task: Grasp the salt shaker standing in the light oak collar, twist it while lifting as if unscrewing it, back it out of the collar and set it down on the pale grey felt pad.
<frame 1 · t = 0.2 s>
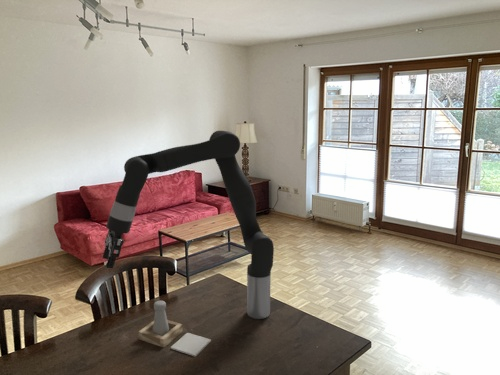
hand: (107, 262, 131), 31 cm above the table, tool tilted 20°, fingers open, 8 cm apart
oak collar: (161, 335, 143), on the table
felt pad: (191, 344, 138), on the table
salt shaker: (161, 335, 144), resting in oak collar
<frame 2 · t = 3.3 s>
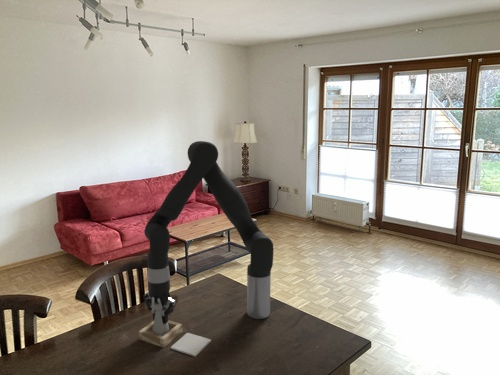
hand: (160, 322, 142), 5 cm above the table, tool pointing down, fingers closed on salt shaker, 3 cm apart
salt shaker: (161, 335, 144), resting in oak collar, touching gripper
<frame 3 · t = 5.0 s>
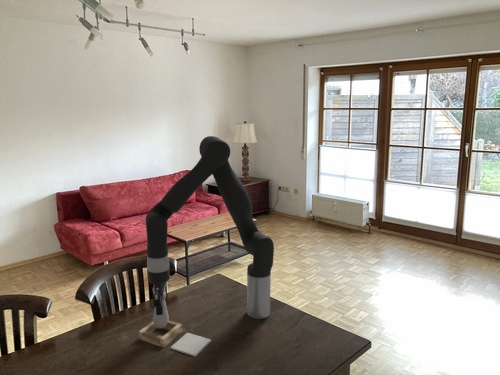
hand: (160, 312, 142), 9 cm above the table, tool pointing down, fingers closed on salt shaker, 3 cm apart
salt shaker: (161, 325, 143), point 4 cm above the table, touching gripper
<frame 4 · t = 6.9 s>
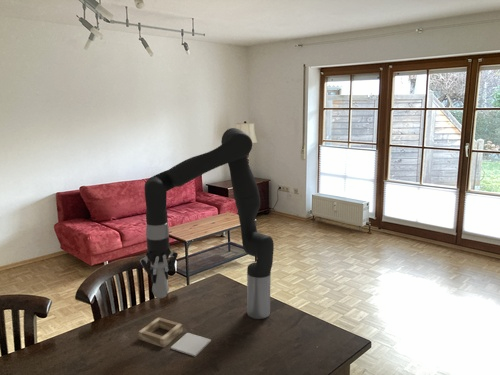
hand: (160, 281, 139), 21 cm above the table, tool pointing down, fingers closed on salt shaker, 3 cm apart
salt shaker: (160, 296, 141), point 15 cm above the table, touching gripper
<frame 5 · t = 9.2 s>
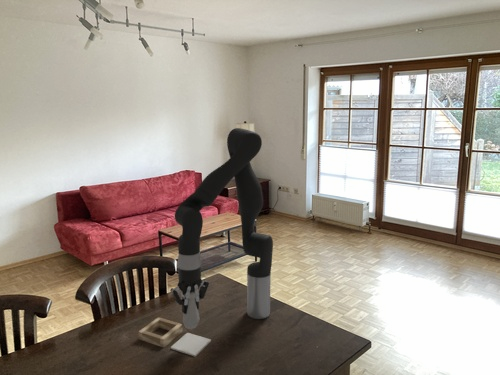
hand: (190, 312, 135), 12 cm above the table, tool pointing down, fingers closed on salt shaker, 3 cm apart
salt shaker: (191, 326, 136), point 7 cm above the table, touching gripper
when the fingers open (7 cm above the table, at t = 10.6 s): salt shaker moves 3 cm, point 2 cm above the table.
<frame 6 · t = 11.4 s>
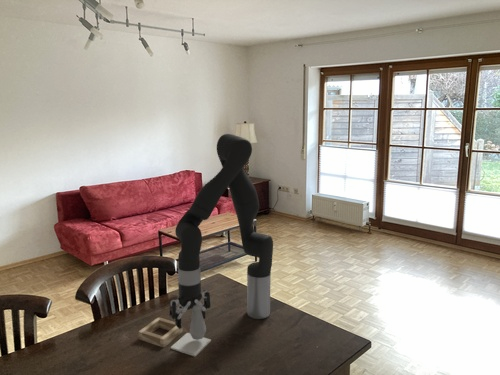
hand: (190, 323, 136), 8 cm above the table, tool pointing down, fingers open, 8 cm apart
salt shaker: (198, 337, 139), point 2 cm above the table, touching gripper
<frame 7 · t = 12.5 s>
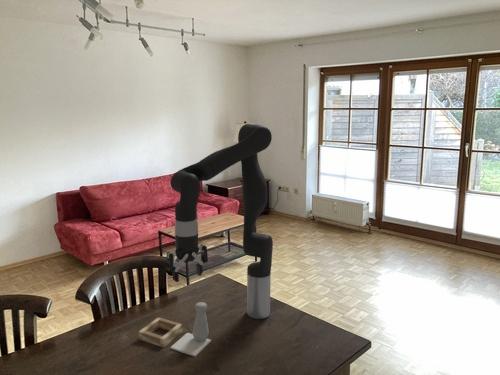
hand: (188, 278, 134), 25 cm above the table, tool pointing down, fingers open, 8 cm apart
salt shaker: (200, 339, 140), point 1 cm above the table, touching felt pad
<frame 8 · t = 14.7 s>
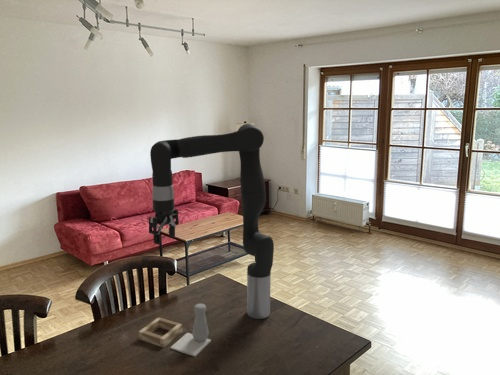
hand: (164, 240, 145), 33 cm above the table, tool pointing down, fingers open, 8 cm apart
at the end: salt shaker 3.9 cm from the felt pad (horizontally); salt shaker tilted 0°; the gripper is holding nothing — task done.
